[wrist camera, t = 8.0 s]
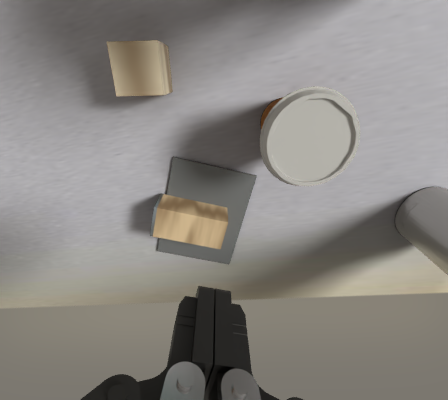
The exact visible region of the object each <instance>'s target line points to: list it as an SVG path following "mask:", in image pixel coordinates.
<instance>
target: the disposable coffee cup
mask: <svg viewBox="0 0 448 400" xmlns="http://www.w3.org/2000/svg"><path fill="white" fill-rule="evenodd" d="M359 140H360V125H359V121H358V117H357V114H356V112H355V109H354V107H353V106H352V104H351V103H350V101H349V100H348V99H347V98H346V97H345V96H343V95H342V94H340V93H339V92H337V91H335V90H333V89H330V88H326V87H315V86H313V87H307V88H302V89H299V90H297V91H294V92H292V93H290V94H288V95H287V96H285V97H283V98H279V99H277V100H275V101H273V102H272V103H270V104H269V105H268V106H267V108H266V109H265V110H264V112H263V114H262V117H261V134H260V152H261V156H262V159H263V162H264V164H265V165H266V167H267V169H268V170H269V171H270V172H271V173H272V174H273V175H274V176H275V177H276V178H278V179H279V180H281V181H283V182H285V183H287V184H291V185H295V186H314V185H319V184H322V183H325V182H328V181H329V180H331V179H333V178H335V177H336V176H338V175H339V174H340V173H341V172H342V171H344V170H345V169H346V168H347V166H348V165H349V163H350V162H351V161H352V159H353V158H354V156H355V153H356V151H357V148H358V146H359Z"/></svg>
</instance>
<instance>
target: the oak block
mask: <svg viewBox="0 0 448 400" xmlns="http://www.w3.org/2000/svg"><path fill="white" fill-rule="evenodd" d="M227 225H228V211H227V207H222V206H217V205H213V204H208V203H203V202H198V201H194V200H189V199H184V198H180V197H175V196H170V195H165V194H160V196H159V198H158V200H157V203H156V205H155V207H154V212H153V218H152V225H151V231H150V236H153V237H159V238H164V239H169V240H174V241H179V242H185V243H190V244H195V245H200V246H205V247H211V248H216V249H221V246H222V243H223V239H224V236H225V232H226V229H227Z"/></svg>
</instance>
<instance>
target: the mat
mask: <svg viewBox="0 0 448 400" xmlns="http://www.w3.org/2000/svg"><path fill="white" fill-rule="evenodd" d="M255 180H256V175H252V174H247V173H243V172H239V171H234V170H230V169H225V168H221V167H216V166H212V165H208V164H203V163H199V162H194V161H190V160H186V159H181V158H177V157H173V161H172V167H171V173H170V179H169V185H168V191H167V195H170V196H175V197H180V198H184V199H189V200H194V201H198V202H203V203H208V204H213V205H217V206H222V207H227V211H228V225H227V229H226V232H225V236H224V239H223V243H222V246H221V249H216V248H211V247H205V246H200V245H195V244H190V243H185V242H179V241H174V240H169V239H164V238H159V244H158V250H157V251H159V252H165V253H170V254H176V255H181V256H187V257H192V258H197V259H203V260H208V261H214V262H219V263H225V264H229V263H230V260H231V257H232V254H233V250H234V247H235V244H236V241H237V238H238V234H239V231H240V228H241V225H242V221H243V218H244V215H245V212H246V209H247V205H248V202H249V199H250V196H251V193H252V189H253V186H254V183H255Z"/></svg>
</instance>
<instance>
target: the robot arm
mask: <svg viewBox="0 0 448 400" xmlns="http://www.w3.org/2000/svg"><path fill="white" fill-rule="evenodd" d="M395 224H396V228H397V230H398V231H399V233H400V234H401V235H403V236H404V237H405V238H406V239H407V240H408V241H409V242H411V243H412V244H413V245H414V246H415V247H416V248H417V249H418V250H420V251H421V252H422V253H423V254H424V255H425V256H426V257H428V258H429V259H430V260H431V261H432V262H433V263H434V264H436V265H437V266H438V267H439V268H440V269H441V270H443V271H444V272H445V273H446V274H447V275H448V190H447V189H445V188H441V187H430V188H425V189H422V190H420V191H418V192H416V193H414V194H412V195H411V196H410V197H408V198H407V199H406V200H405V201H404V202H403V203H402V205H401V206H400V208H399V210H398V212H397V214H396V218H395ZM81 400H279V399H277V398H275V397H273V396H271V395H269V394H268V393H266V392H264V391H263V390H262V389H261V388H260V387H259V386H258V384H257V382H256V380H255V379H254V377H253V375H252V371H251V364H250V354H249V345H248V337H247V328H246V318H245V314H244V312H243V310H242V308H241V306H240V305H237V304H231V292H230V291H225V290H220V289H213V288H207V287H202V286H198V289H197V293H196V297H189V296H185V297H184V299H183V300H182V301H181V303H180V304H179V308H178V312H177V316H176V321H175V325H174V330H173V336H172V342H171V348H170V353H169V358H168V364H167V367H166V369H165V370H164V371H163V372H162V373H161V374H160V375H158V376H156V377H155V378H152V379H149V380H144V381H140V382H137V381H136V380H135V379H134V378H133V377H131V376H128V375H124V374H120V375H115V376H112V377H110V378H108V379H106V380H105V381H104V382H102V383H101V384H100V385H99V386H97V387H96V388H95V389H94V390H92V391H91V392H90V393H88V394H87V395H86V396H85V397H83V398H82V399H81ZM287 400H303V399H301V398H297V397H292V398H289V399H287Z"/></svg>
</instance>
